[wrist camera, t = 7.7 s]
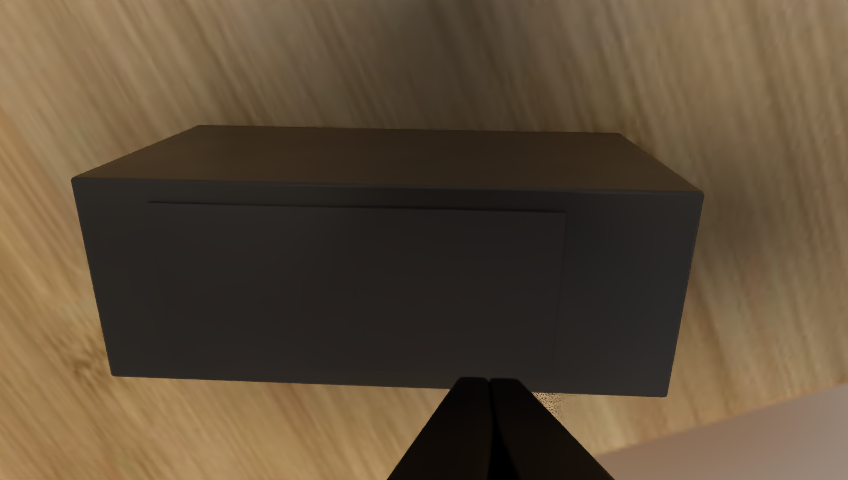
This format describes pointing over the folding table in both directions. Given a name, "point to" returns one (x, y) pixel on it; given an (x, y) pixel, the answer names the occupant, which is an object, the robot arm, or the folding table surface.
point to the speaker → (391, 258)
